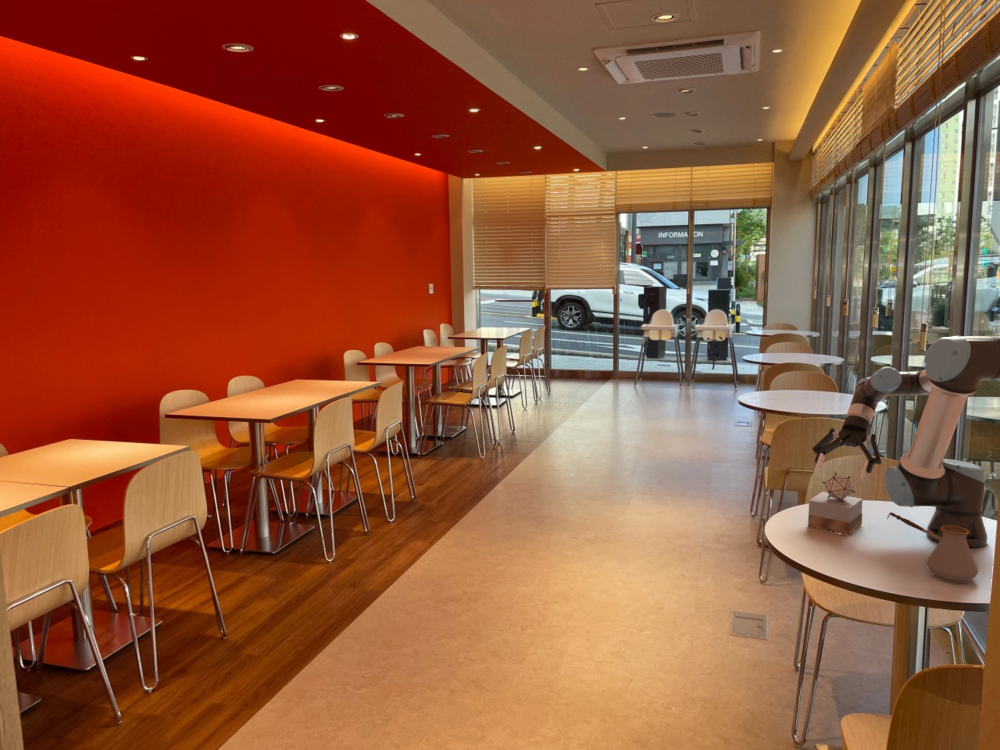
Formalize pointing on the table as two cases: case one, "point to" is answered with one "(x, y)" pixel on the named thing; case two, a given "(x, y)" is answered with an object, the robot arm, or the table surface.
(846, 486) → the game die
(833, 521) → the tower bottom slab
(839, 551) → the table surface
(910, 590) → the table surface
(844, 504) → the tower top slab
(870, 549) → the table surface
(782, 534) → the table surface
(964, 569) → the coffee pot
